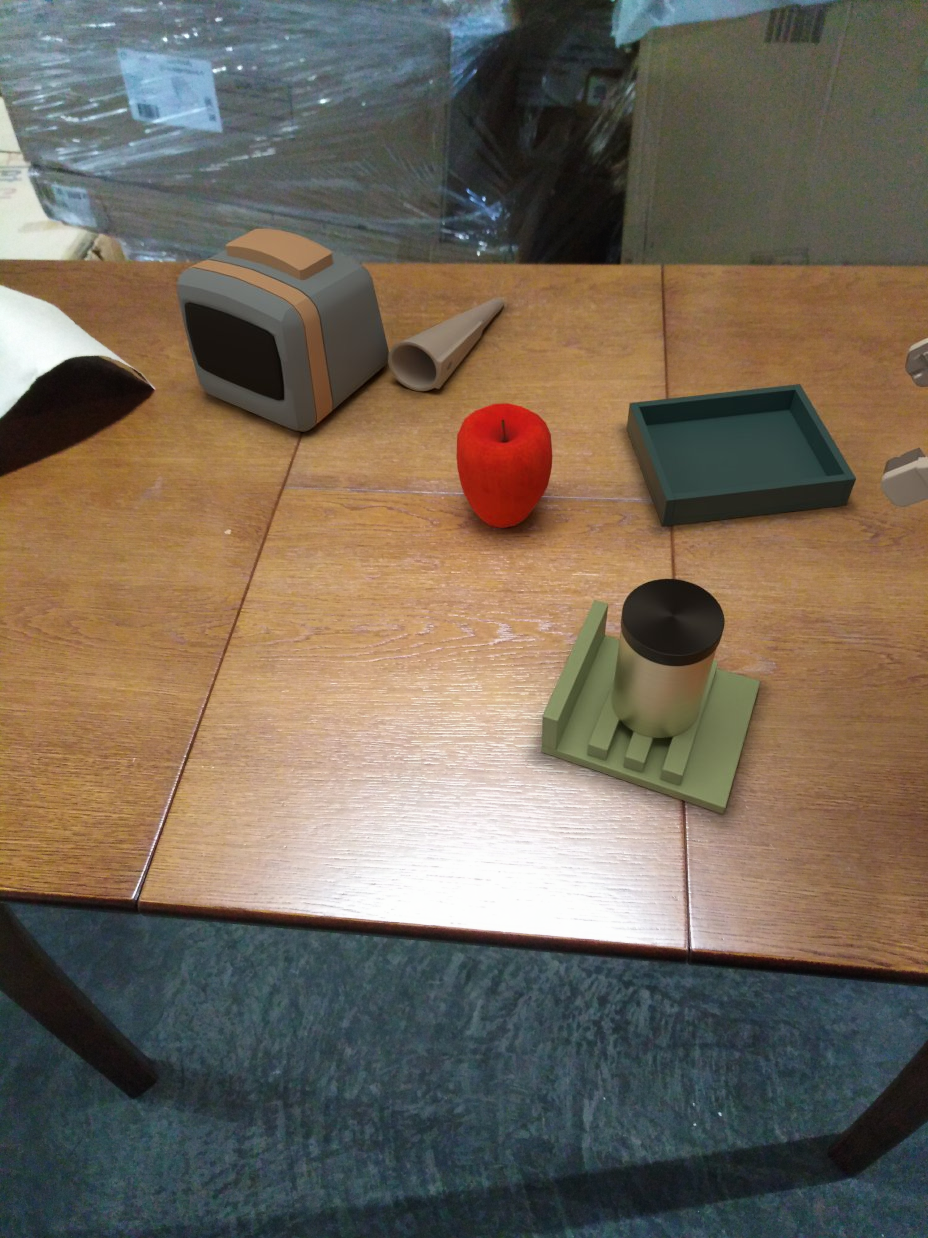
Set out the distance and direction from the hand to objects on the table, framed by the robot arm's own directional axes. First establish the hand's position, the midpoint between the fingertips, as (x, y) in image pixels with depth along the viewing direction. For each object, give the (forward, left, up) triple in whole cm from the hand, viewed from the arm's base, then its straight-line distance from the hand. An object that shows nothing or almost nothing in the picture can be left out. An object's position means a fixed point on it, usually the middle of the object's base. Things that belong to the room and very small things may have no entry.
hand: (900, 424), depth 43 cm
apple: (+15, -30, -32) cm, 46 cm away
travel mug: (+7, -5, -29) cm, 30 cm away
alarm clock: (+35, -55, -32) cm, 72 cm away
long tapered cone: (+17, -59, -32) cm, 69 cm away
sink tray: (-8, -33, -31) cm, 46 cm away
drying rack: (+7, -5, -31) cm, 33 cm away
